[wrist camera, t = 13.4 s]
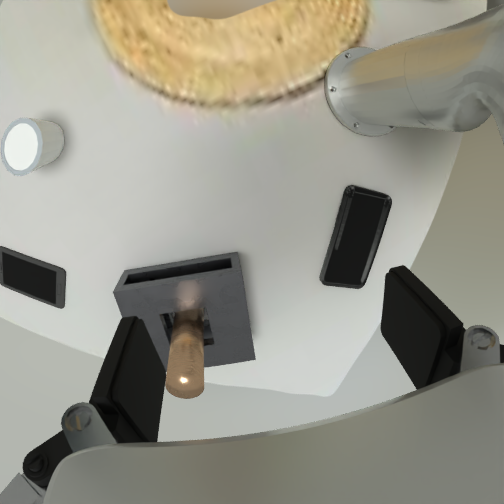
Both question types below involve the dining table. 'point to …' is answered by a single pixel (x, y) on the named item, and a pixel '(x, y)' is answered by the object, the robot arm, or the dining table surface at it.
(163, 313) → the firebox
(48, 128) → the white cylinder
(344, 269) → the phone
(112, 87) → the dining table surface
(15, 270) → the cell phone
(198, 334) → the brown long cylinder
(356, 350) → the dining table surface
